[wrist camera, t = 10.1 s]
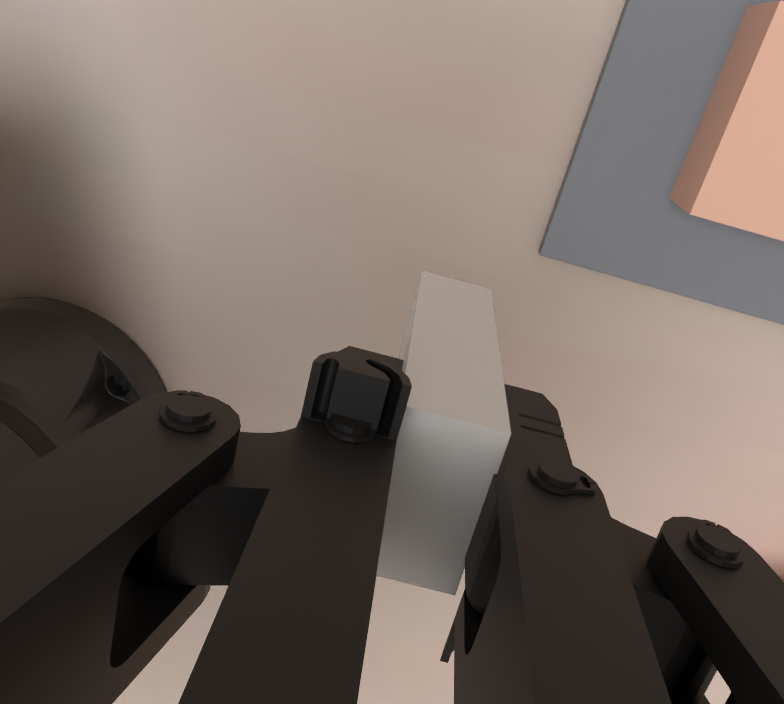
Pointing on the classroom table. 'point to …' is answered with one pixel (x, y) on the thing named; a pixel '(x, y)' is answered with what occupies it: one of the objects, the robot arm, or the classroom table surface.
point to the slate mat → (660, 166)
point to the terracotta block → (742, 133)
